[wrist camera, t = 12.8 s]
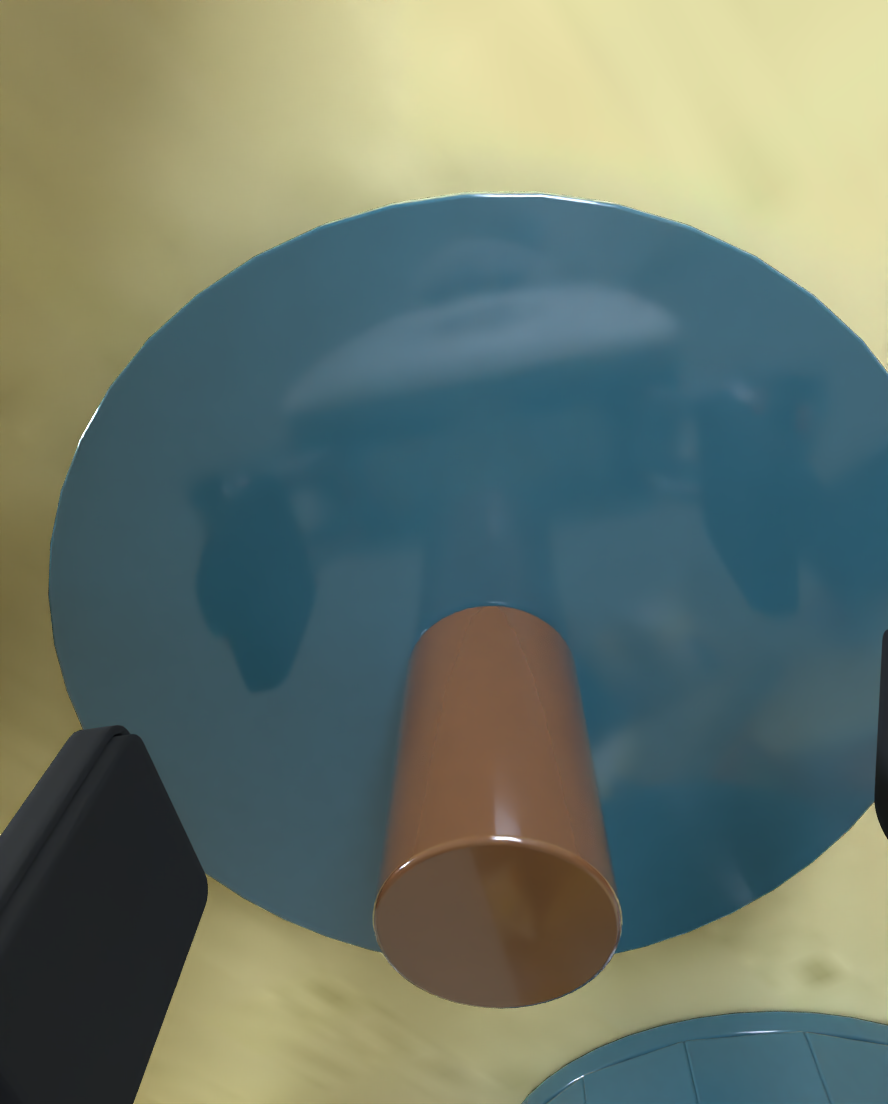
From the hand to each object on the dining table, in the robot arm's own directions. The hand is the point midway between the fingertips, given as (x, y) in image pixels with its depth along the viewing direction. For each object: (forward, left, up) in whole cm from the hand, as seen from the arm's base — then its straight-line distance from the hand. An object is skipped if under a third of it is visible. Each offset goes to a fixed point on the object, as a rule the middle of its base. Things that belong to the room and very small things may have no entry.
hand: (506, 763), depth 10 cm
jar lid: (0, 0, -3) cm, 3 cm away
